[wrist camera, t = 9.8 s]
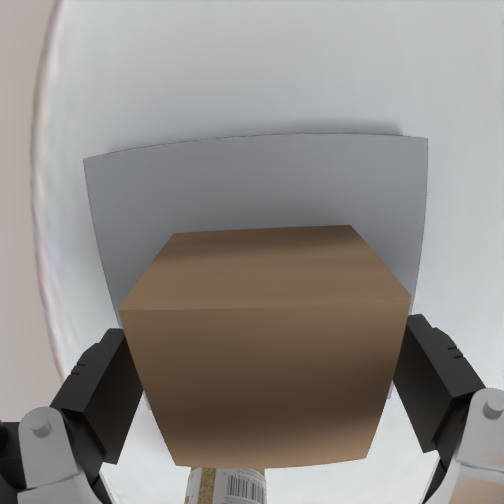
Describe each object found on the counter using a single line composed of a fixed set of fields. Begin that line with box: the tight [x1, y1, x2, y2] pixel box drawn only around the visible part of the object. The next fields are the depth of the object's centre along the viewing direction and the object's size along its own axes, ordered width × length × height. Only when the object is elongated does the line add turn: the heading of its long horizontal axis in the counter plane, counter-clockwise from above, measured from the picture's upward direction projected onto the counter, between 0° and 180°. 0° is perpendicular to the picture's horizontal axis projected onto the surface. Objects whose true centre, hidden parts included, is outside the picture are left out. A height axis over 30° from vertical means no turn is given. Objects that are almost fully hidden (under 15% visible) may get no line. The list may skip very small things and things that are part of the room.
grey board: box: [83, 133, 428, 410], centre depth 13 cm, size 12×12×2 cm
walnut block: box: [118, 225, 412, 469], centre depth 9 cm, size 6×6×5 cm
